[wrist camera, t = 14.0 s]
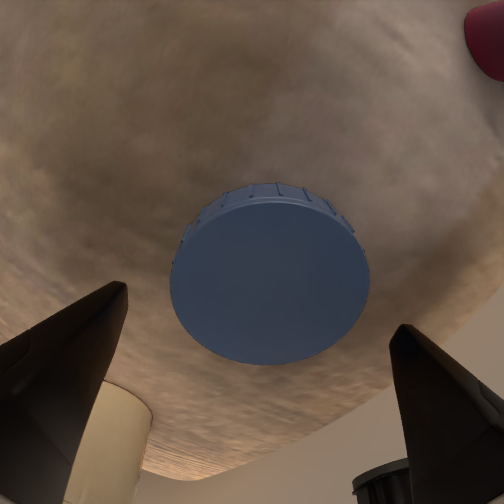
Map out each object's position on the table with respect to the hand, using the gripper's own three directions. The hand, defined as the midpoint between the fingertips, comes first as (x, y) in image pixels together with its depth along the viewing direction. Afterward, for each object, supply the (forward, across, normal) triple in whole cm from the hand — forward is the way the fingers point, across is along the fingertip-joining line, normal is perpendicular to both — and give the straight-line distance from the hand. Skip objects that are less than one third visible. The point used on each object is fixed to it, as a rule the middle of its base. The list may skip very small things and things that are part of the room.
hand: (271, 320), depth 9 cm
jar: (+3, +8, +13) cm, 16 cm away
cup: (+3, -7, -12) cm, 14 cm away
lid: (+2, 0, 0) cm, 2 cm away
